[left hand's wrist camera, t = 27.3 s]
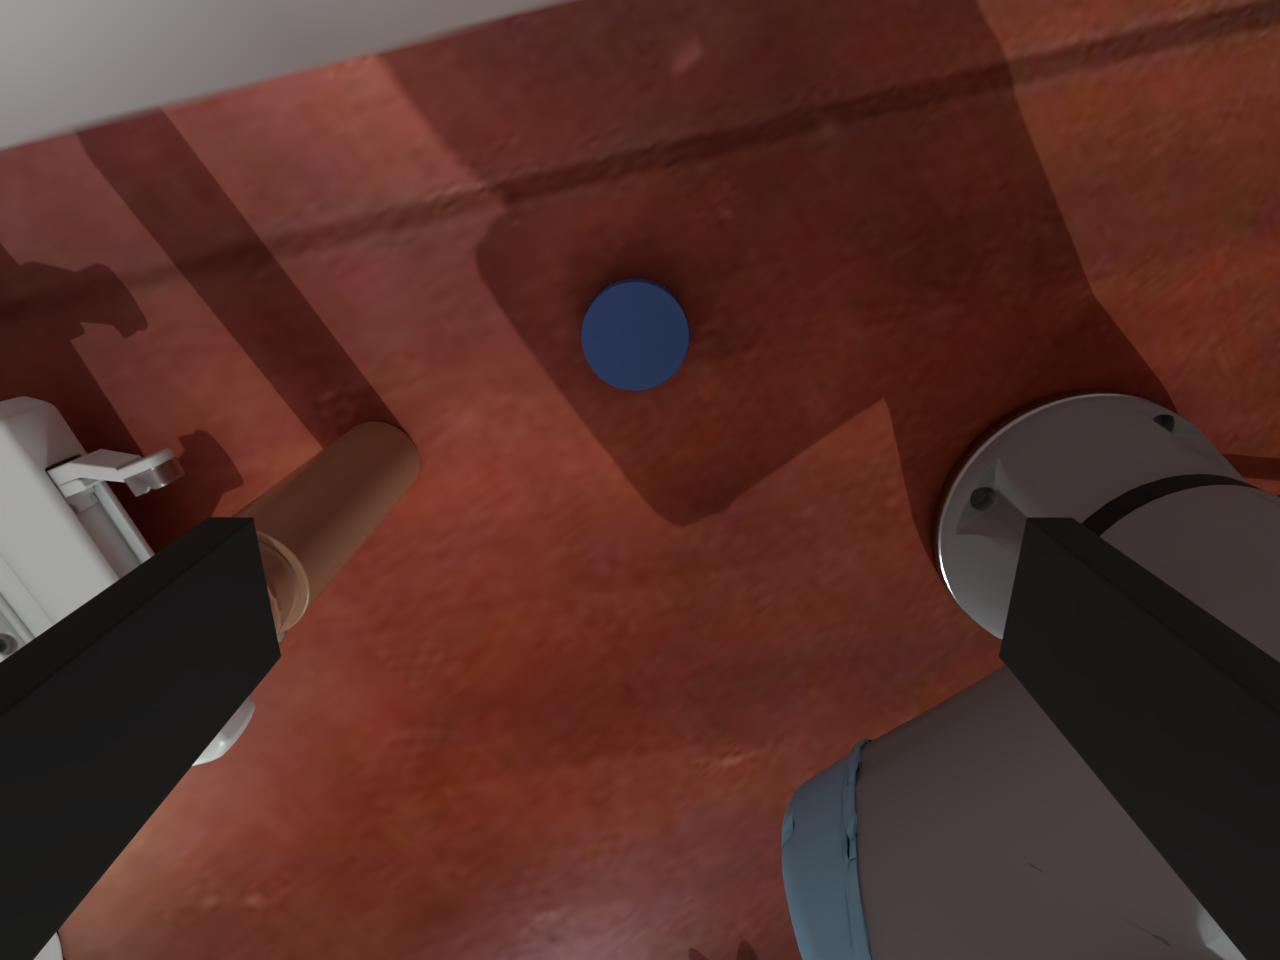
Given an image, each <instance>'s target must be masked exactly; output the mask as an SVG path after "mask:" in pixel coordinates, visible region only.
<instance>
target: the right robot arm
mask: <svg viewBox="0 0 1280 960" xmlns="http://www.w3.org/2000/svg"><path fill="white" fill-rule="evenodd" d="M184 475H186V472H185V471H184V469H183V467H182V466H181V464H180V462H179V461H178V459H177V458H176V457H175V455H174V453H173V452H172V450H171V448H170V447H169V448H166V449H163V450H161V451H158V452H156V453H153V454H151V455H148V456H146V457H143V458H142V457H141V456H139V455H134V454H128V453H123V452H117V451H111V450H106V449H99V450H97V451H94V452H92V453H89V454H87V452H86V451H85V449H84V448H83V447H82V445H81V444H80V442H79V441H78V439H77V438H76V436H75V435H74V433H73V432H72V430H71V429H70V427H69V426H68V424H67V423H66V421H65V420H64V418H63V416H62V415H61V413H60V412H59V411H58V409H57V408H56V407H55V406H54V405H53V404H51V403H49V402H46V401H43V400H39V399H35V398H31V397H27V396H22V397H17V398H13V399H9V400H5V401H1V402H0V662H2V661H3V660H4V659H6V658H7V657H9V656H10V655H12V654H13V653H15V652H16V651H17V650H19V649H20V648H22V647H23V646H25V645H26V644H27V643H29V642H30V641H32V640H33V639H35V638H36V637H37V636H39V635H40V634H42V633H43V632H45V631H46V630H47V629H49V628H50V627H52V626H53V625H55V624H56V623H58V622H59V621H60V620H62V619H63V618H65V617H66V616H68V615H69V614H70V613H72V612H73V611H75V610H76V609H78V608H79V607H80V606H82V605H83V604H85V603H86V602H88V601H89V600H91V599H92V598H93V597H95V596H96V595H98V594H99V593H101V592H102V591H103V590H105V589H106V588H108V587H109V586H111V585H112V584H113V583H115V582H116V581H118V580H119V579H121V578H122V577H123V576H125V575H126V574H128V573H129V572H131V571H132V570H134V569H135V568H136V567H138V566H139V565H141V564H142V563H144V562H145V561H146V560H148V559H149V558H151V557H152V556H154V555H155V553H154V552H153V550H152V549H151V547H150V546H149V544H148V543H147V542H146V540H145V539H144V537H143V536H142V534H141V533H140V531H139V530H138V528H137V527H136V525H135V524H134V522H133V521H132V519H131V518H130V516H129V515H128V513H127V512H126V510H125V509H124V507H123V506H122V504H121V503H120V501H119V500H118V498H117V497H116V495H115V494H114V493H113V491H112V490H111V488H110V487H109V485H108V484H107V482H106V481H105V480H107V481H116V482H125V483H126V484H127V485H128V487H129V488H130V490H131V491H132V493H133V494H134V495H135V497H137V496H140V495H143V494H145V493H148V492H150V491H151V490H153V489H158V488H161V487H163V486H165V485H167V484H169V483H172V482H173V481H175V480H177V478H180V477H182V476H184ZM286 634H287V633H286V631H283V632H281V633H279V635H278V636H277V639H278V643H279V642H280V641H281V640H282V638H283V637H284V636H285V635H286ZM254 710H255V703H254V701H253V699H252V697H251V696H250V695H249V696H248V698H247V699H246V700H245V701H244V702H243V704H242V705H241V706H240V707H239V709H238V710H237V711H236V712H235V713H234V715H233V716H232V717H231V718H230V720H229V721H228V722H227V723H226V725H225V726H224V727H223V728H222V729H221V731H220V732H219V733H218V734H217V736H216V737H215V738H214V739H213V740H212V742H211V743H210V744H209V745H208V747H207V748H206V749H205V750H204V751H203V753H202V754H201V755H200V756H199V758H198V759H197V760H196V761H195V763H194V764H193V765H192V766H195V765H199V764H203V763H206V762H209V761H213V760H215V759H217V758H219V757H221V756H222V755H223V754H224V753H226V752H227V751H228V750H229V749H230V747H231V746H232V745H233V744H234V743H235V742H236V741H237V739H238V738H239V737H240V735H241V734H242V733H243V731H244V730H245V728H246V727H247V725H248V723H249V721H250V719H251V717H252V715H253V712H254ZM34 960H63V957H62V949H61V944H60V940H59V937H58V934H57V932H56V933H55V934H54V935H53V937H52V938H51V939H50V940H49V942H48V943H47V944H46V945H45V946H44V948H43V949H42V950H41V951H40V953H39V954H38V955H37V956H36V957H35V959H34Z"/></svg>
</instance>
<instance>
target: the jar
mask: <svg viewBox="0 0 1280 960" xmlns="http://www.w3.org/2000/svg"><path fill="white" fill-rule="evenodd" d="M419 471H420V459H419V455H418V451H417V449H416V447H415V445H414V443H413V442H412V441H411V439H410V438H409V437H408V436H407V435H406V434H405V433H404V432H403V431H401V430H400V429H398V428H397V427H395V426H392V425H390V424H387V423H383V422H375V421H374V422H365V423H361V424H358V425H356V426H354V427H353V428H351V429H350V430H349V431H347V432H346V433H345V434H343V435H342V436H340V437H339V438H338V439H336V440H335V441H334V442H332V443H331V444H330V445H328V446H327V447H325V448H324V449H323V450H321V451H320V452H319V453H317V454H316V455H315V456H313V457H312V458H311V459H309V460H308V461H306V462H305V463H304V464H302V465H301V466H300V467H298V468H297V469H296V470H294V471H293V472H291V473H290V474H289V475H287V476H286V477H285V478H283V479H282V480H281V481H279V482H278V483H276V484H275V485H274V486H272V487H271V488H270V489H268V490H267V491H266V492H264V493H263V494H262V495H260V496H259V497H257V498H256V499H255V500H253V501H252V502H251V503H249V504H248V505H247V506H245V507H244V508H242V509H241V510H240V511H238V512H237V513H236V514H234V515H233V516H232V517H253V519H254V524H255V529H256V534H257V539H258V544H259V549H260V554H261V559H262V564H263V569H264V574H265V579H266V584H267V589H268V594H269V599H270V604H271V609H272V614H273V619H274V624H275V629H276V634H277V636H278V635H279V633H281V632H283V631H286V630H288V629H289V628H291V627H292V626H294V625H295V624H296V623H297V622H298V621H299V620H300V619H301V618H302V617H303V615H304V614H305V613H306V612H307V611H308V609H309V608H310V607H311V606H312V605H313V604H314V602H315V601H316V600H317V599H318V598H319V596H320V595H321V594H322V593H323V592H324V590H325V589H326V588H327V587H328V586H329V585H330V583H331V582H332V581H333V580H334V579H335V577H336V576H337V575H338V574H339V573H340V572H341V570H342V569H343V568H344V567H345V566H346V564H347V563H348V562H349V561H350V560H351V558H352V557H353V556H354V555H355V554H356V553H357V551H358V550H359V549H360V548H361V547H362V545H363V544H364V543H365V542H366V541H367V540H368V538H369V537H370V536H371V535H372V534H373V532H374V531H375V530H376V529H377V528H378V526H379V525H380V524H381V523H382V522H383V521H384V519H385V518H386V517H387V516H388V515H389V513H390V512H391V511H392V510H393V509H394V507H395V506H396V505H397V504H398V503H399V502H400V500H401V499H402V498H403V497H404V496H405V494H406V493H407V492H408V491H409V490H410V489H411V487H412V486H413V485H414V483H415V482H416V480H417V478H418V475H419Z"/></svg>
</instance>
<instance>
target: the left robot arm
mask: <svg viewBox="0 0 1280 960" xmlns="http://www.w3.org/2000/svg"><path fill="white" fill-rule="evenodd" d="M931 540H932V551H933V557H934V561H935V565H936V568H937V571H938V573H939V576H940V578H941V580H942V582H943V584H944V585H945V587H946V589H947V590H948V592H949V593H950V594H951V596H952V597H953V598H954V599H955V601H956V602H957V603H958V604H959V606H960V607H961V608H962V609H963V610H964V611H965V612H966V613H967V614H968V615H969V616H970V617H971V618H972V619H973V620H974V621H976V622H977V623H978V624H979V625H981V626H982V627H983V628H985V629H986V630H987V631H988V632H990V633H991V634H993V635H995V636H996V637H998V638H1000V639H1002V644H1001V649H1000V654H999V657H1000V658H1001V660H1002V661H1003V662H1004V663H1005V664H1006V665H1005V666H1004V667H1002V668H1000V669H998V670H997V671H995V672H993V673H991V674H990V675H988V676H986V677H985V678H983V679H981V680H979V681H978V682H976V683H974V684H973V685H971V686H969V687H967V688H966V689H964V690H962V691H960V692H959V693H957V694H955V695H954V696H952V697H950V698H948V699H947V700H945V701H943V702H941V703H940V704H938V705H936V706H935V707H933V708H931V709H929V710H927V711H926V712H924V713H922V714H920V715H918V716H917V717H915V718H913V719H911V720H909V721H908V722H906V723H904V724H902V725H900V726H898V727H897V728H895V729H893V730H891V731H889V732H888V733H886V734H884V735H882V736H880V737H879V738H877V739H875V740H873V741H872V740H868V739H864V740H862V741H860V742H858V743H857V744H855V746H854V747H853V748H852V750H851V753H850V754H848V755H847V756H845V757H843V758H842V759H840V760H839V761H837V762H836V763H834V764H833V765H831V766H830V767H828V768H826V769H825V770H823V771H822V772H820V773H819V774H817V775H816V776H814V777H813V778H811V779H809V780H808V781H807V782H805V783H804V784H803V785H802V786H800V787H799V789H798V790H797V791H796V792H795V793H794V795H793V796H792V798H791V800H790V802H789V804H788V807H787V809H786V812H785V815H784V821H783V826H782V869H783V878H784V884H785V890H786V896H787V901H788V906H789V911H790V915H791V920H792V924H793V928H794V932H795V936H796V939H797V943H798V946H799V950H800V953H801V956H802V959H803V960H1280V495H1278V496H1275V495H1273V494H1271V493H1268V492H1266V491H1264V490H1261V489H1259V488H1257V487H1255V486H1252V485H1250V484H1248V483H1247V482H1246V481H1245V479H1244V478H1243V477H1242V476H1241V475H1240V474H1239V473H1238V472H1237V471H1236V470H1235V468H1234V467H1233V466H1232V465H1231V464H1230V463H1229V462H1228V461H1227V460H1226V458H1225V457H1224V456H1223V455H1222V454H1221V453H1220V452H1219V451H1218V450H1217V449H1216V447H1215V446H1214V445H1213V444H1212V443H1211V442H1210V441H1209V440H1208V438H1207V437H1206V436H1205V435H1204V434H1203V433H1202V432H1201V431H1200V430H1199V429H1198V428H1196V427H1195V426H1194V425H1193V424H1191V423H1190V422H1189V421H1187V420H1186V419H1184V418H1183V417H1181V416H1179V415H1178V414H1176V413H1174V412H1173V411H1171V410H1170V409H1168V408H1166V407H1164V406H1162V405H1159V404H1157V403H1155V402H1152V401H1149V400H1146V399H1144V398H1141V397H1138V396H1135V395H1132V394H1129V393H1124V392H1119V391H1114V390H1104V389H1085V390H1074V391H1068V392H1063V393H1058V394H1054V395H1051V396H1047V397H1044V398H1041V399H1039V400H1036V401H1033V402H1031V403H1029V404H1027V405H1024V406H1022V407H1020V408H1018V409H1016V410H1015V411H1013V412H1011V413H1009V414H1008V415H1006V416H1004V417H1003V418H1001V419H1000V420H999V421H997V422H996V423H994V424H993V425H992V426H990V427H989V428H988V429H987V430H986V431H984V432H983V433H982V434H981V435H980V436H979V437H978V438H977V439H976V440H975V441H974V442H973V443H972V444H971V445H970V446H969V447H968V448H967V449H966V451H965V452H964V453H963V454H962V455H961V457H960V458H959V459H958V461H957V462H956V464H955V465H954V467H953V468H952V470H951V471H950V473H949V475H948V476H947V478H946V480H945V483H944V485H943V487H942V489H941V491H940V494H939V497H938V499H937V503H936V506H935V510H934V515H933V521H932V533H931ZM280 657H281V654H280V649H279V644H278V639H277V634H276V629H275V624H274V619H273V614H272V609H271V604H270V599H269V594H268V589H267V584H266V579H265V574H264V569H263V564H262V559H261V554H260V549H259V544H258V539H257V534H256V529H255V524H254V519H253V517H208V518H207V519H205V520H204V521H202V522H201V523H200V524H198V525H197V526H195V527H194V528H192V529H191V530H189V531H188V532H187V533H185V534H184V535H182V536H181V537H179V538H178V539H177V540H175V541H174V542H172V543H171V544H169V545H168V546H167V547H165V548H164V549H162V550H161V551H159V552H158V553H156V554H155V555H154V556H152V557H151V558H149V559H148V560H146V561H145V562H144V563H142V564H141V565H139V566H138V567H136V568H135V569H134V570H132V571H131V572H129V573H128V574H126V575H125V576H123V577H122V578H121V579H119V580H118V581H116V582H115V583H113V584H112V585H111V586H109V587H108V588H106V589H105V590H103V591H102V592H101V593H99V594H98V595H96V596H95V597H93V598H92V599H91V600H89V601H88V602H86V603H85V604H83V605H82V606H80V607H79V608H78V609H76V610H75V611H73V612H72V613H70V614H69V615H68V616H66V617H65V618H63V619H62V620H60V621H59V622H58V623H56V624H55V625H53V626H52V627H50V628H49V629H47V630H46V631H45V632H43V633H42V634H40V635H39V636H37V637H36V638H35V639H33V640H32V641H30V642H29V643H27V644H26V645H25V646H23V647H22V648H20V649H19V650H17V651H16V652H15V653H13V654H12V655H10V656H9V657H7V658H6V659H4V660H3V661H2V662H0V960H34V959H35V957H36V956H37V955H38V954H39V953H40V951H41V950H42V949H43V948H44V946H45V945H46V944H47V943H48V942H49V940H50V939H51V938H52V937H53V935H54V934H55V933H56V932H57V931H58V929H59V928H60V927H61V926H62V924H63V923H64V922H65V921H66V919H67V918H68V917H69V916H70V915H71V913H72V912H73V911H74V910H75V908H76V907H77V906H78V905H79V904H80V902H81V901H82V900H83V899H84V897H85V896H86V895H87V894H88V892H89V891H90V890H91V889H92V888H93V886H94V885H95V884H96V883H97V881H98V880H99V879H100V878H101V877H102V875H103V874H104V873H105V872H106V870H107V869H108V868H109V867H110V866H111V864H112V863H113V862H114V861H115V859H116V858H117V857H118V856H119V854H120V853H121V852H122V851H123V850H124V848H125V847H126V846H127V845H128V843H129V842H130V841H131V840H132V839H133V837H134V836H135V835H136V834H137V832H138V831H139V830H140V829H141V828H142V826H143V825H144V824H145V823H146V821H147V820H148V819H149V818H150V816H151V815H152V814H153V813H154V812H155V810H156V809H157V808H158V807H159V805H160V804H161V803H162V802H163V801H164V799H165V798H166V797H167V796H168V794H169V793H170V792H171V791H172V790H173V788H174V787H175V786H176V785H177V783H178V782H179V781H180V780H181V778H182V777H183V776H184V775H185V774H186V772H187V771H188V770H189V769H190V767H191V766H192V765H193V764H194V763H195V761H196V760H197V759H198V758H199V756H200V755H201V754H202V753H203V751H204V750H205V749H206V748H207V747H208V745H209V744H210V743H211V742H212V740H213V739H214V738H215V737H216V736H217V734H218V733H219V732H220V731H221V729H222V728H223V727H224V726H225V725H226V723H227V722H228V721H229V720H230V718H231V717H232V716H233V715H234V713H235V712H236V711H237V710H238V709H239V707H240V706H241V705H242V704H243V702H244V701H245V700H246V699H247V698H248V696H249V695H250V694H251V693H252V691H253V690H254V689H255V688H256V687H257V685H258V684H259V683H260V682H261V680H262V679H263V678H264V677H265V675H266V674H267V673H268V672H269V671H270V669H271V668H272V667H273V666H274V664H275V663H276V662H277V661H278V660H279V658H280Z"/></svg>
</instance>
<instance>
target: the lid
mask: <svg viewBox="0 0 1280 960" xmlns="http://www.w3.org/2000/svg"><path fill="white" fill-rule="evenodd" d="M589 305H590V307H589V308H588V311H586V312H585V314H584V316H583V318H584V320H583V324H582V327H581V329H580V331H581V345H582V348H583V352H584V355H585V358H586V360H587V362H588V364H589V365H590V367H591V368H592V369H593V371H594V372H595V373H596V374H597V375H598V376H599V377H600V378H601V379H603V380H604V381H605V382H607V383H609V384H611V385H613V386H615V387H618V388H620V389H625V390H633V391H637V390H646V389H650V388H653V387H656V386H658V385H660V384H662V383H664V382H665V381H667V380H668V379H669V378H670V377H672V376H673V375H674V374H675V373H676V371H677V370H678V369H679V367H680V366H681V364H682V362H683V361H684V359H685V356H686V353H687V350H688V349H689V348H688V345H689V336H690V332H689V328H688V322H689V321H688V318H687V316H685V314H684V312H683V310H684V308H683V306H682V304H679V302H678V300H677V299H676V296H675V294H674V293H671V292H670V291H669V290H668V289H666V288H665V286H664V285H663V284H662V285H660V284H658V283H656V282H654V281H652V279H650V280H648V279H643V278H639V276H637V278H628V279H626V278H623V280H620V281H617V282H615V283H613V282H611V283H610V285H609V286H607V287H606V288H604V289H603V290H602V289H601V290H600V291H599V293H598V295H597V296H596V297H595V299H594V300H593V299H592V300H591V302H590V304H589Z"/></svg>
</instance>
